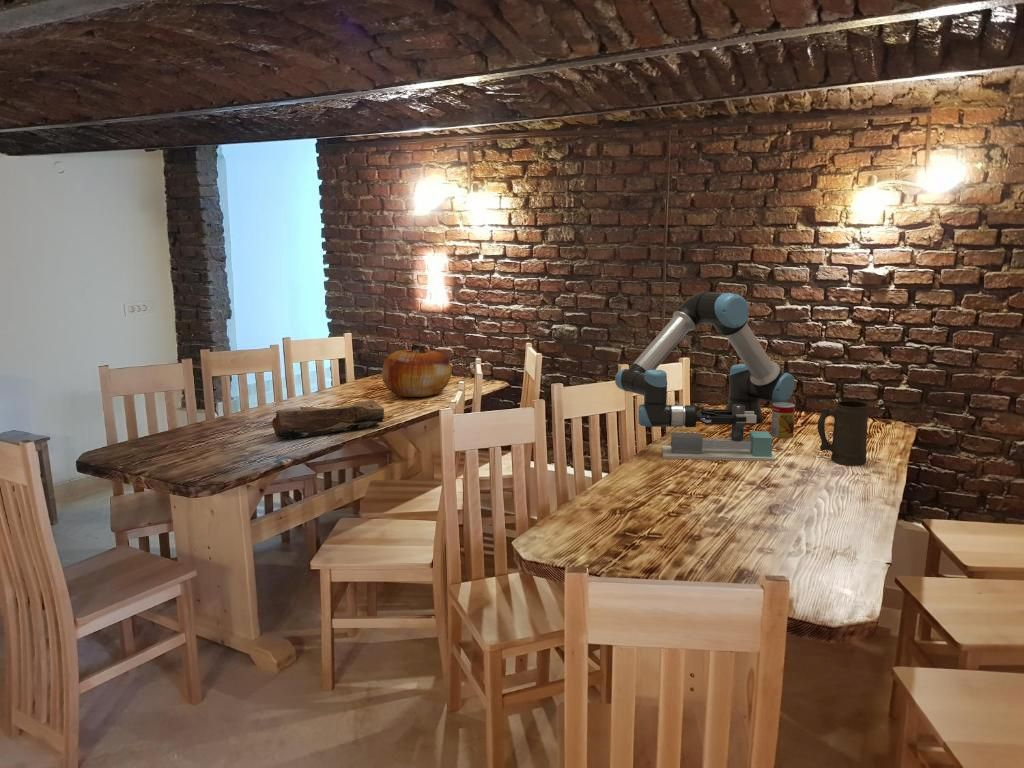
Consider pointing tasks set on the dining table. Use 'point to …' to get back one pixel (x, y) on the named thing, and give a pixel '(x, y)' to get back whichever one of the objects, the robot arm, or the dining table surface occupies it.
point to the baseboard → (716, 455)
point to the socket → (761, 443)
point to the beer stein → (846, 432)
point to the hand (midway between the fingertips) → (754, 417)
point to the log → (327, 419)
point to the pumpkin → (416, 372)
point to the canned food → (782, 420)
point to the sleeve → (686, 443)
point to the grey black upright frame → (736, 436)
